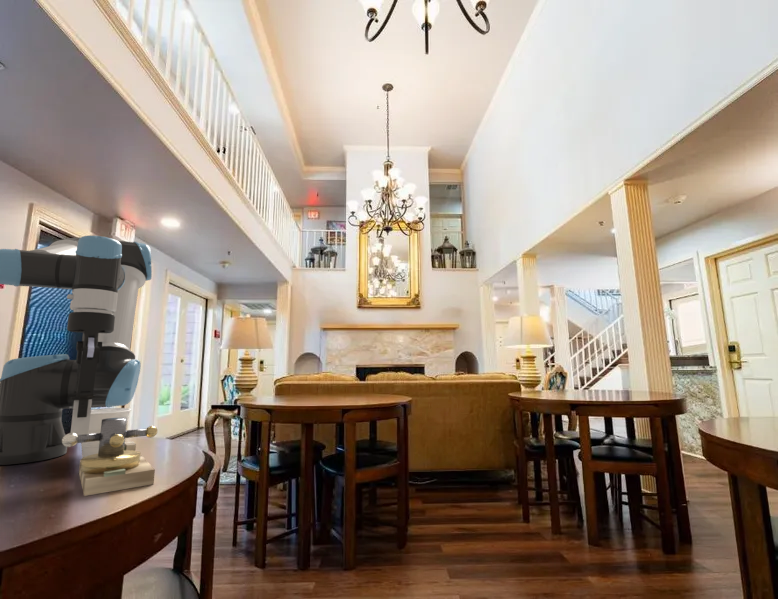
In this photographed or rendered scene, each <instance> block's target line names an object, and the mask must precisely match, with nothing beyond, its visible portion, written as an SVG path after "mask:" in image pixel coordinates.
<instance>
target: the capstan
mask: <svg viewBox="0 0 778 599" xmlns="http://www.w3.org/2000/svg"><path fill="white" fill-rule="evenodd" d="M127 423H128V420H127V418H108V419H103V420H102V422H101V431H100V433H94V434H83V435H77V434H76V433H71V432H69V433H67V434H66V433H65V436H64V437H63V438H62V444H63V445H64V446H66V447H67V448H71V447H74V446H75V445H76V446H77V444H81V443H83V442H93V441H99V451H98V454H93V455H89V456H86V457H84V458H82V457H81V458H80V460H81V468H80V471H81V472H85V473H102V472H105V471H112V470H119V469H128V468H131V467H134V466H137V465H138V464H140V454H141V451H138V450H135V451H130V450H126V451H124V446H125V442H126V439H130V438H138V437H147V438H154V437H156V436H157V434H158V428H157V427H156V426H154V425H149V426H147V427H146V428H140V429H138V428H137V429H127V426H128V425H127ZM141 455H142V454H141Z"/></svg>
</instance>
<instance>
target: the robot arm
mask: <svg viewBox="0 0 778 599" xmlns="http://www.w3.org/2000/svg"><path fill="white" fill-rule="evenodd" d="M152 267H153V266H152V251H151V247H150V245H148V244H146V243H144V242H143V243H142V242H138V241H125V240H117V239H114V238H111V237H107V236H101V235H84V236H81V237H80V236H79V237H70V238H64V239H59V240H56V241H54V242H52V243H51V244H50V245H49V246H45V247H41V248H35V249H32V250H31V249H30V250H22V249H18V248H14V249H11V248H0V285H4V286H5V285H7V286H14V287H31V288H32V287H34V288H50V289H62V290H71V293H70V294H67V296H66V299H67V300H71V301H70V306H69V309H70V310H71V311H73V312H70V313H68V319H67V325H66V329H67V331H68V332H70V333H81V334H82V337H81V341H80V340H78V341H76V346H75V348H76V349H75V350H76V358H75V359H70V356H69V354H65V353H63V354H62V353H61V354H49V355H35V356H28V357H27V356H26V357H19V358H13V359H10V360H8V361H6V362H5V363H4V365H3V368H2V372H1V376H0V377H1V378H0V466H5V465H17V464H18V465H19V464H26V463H27V464H28V463H33V462H34V463H35V462H41V461H45V460H50V459H54V458H58V457H60V456H61V457H62V456H63V455H66V454H67V451H68V447H66V446H64V445H63V444H62V438H63V437H64V436H65V435H66V433H65V430H64V426H63V422H62V415H63V410H64V409H72V415H71V416H72V417H71V427H70V433H76V434H77V435H83V434H88V433H89V423H90V414H91V410H92V408H113V407H120V406H122V407H123V406H126V405H128V404H130V403H131V401H132V400H133V398H134V395H135V394H136V390H137V386H138V383H139V377H140V372H141V361H140V360H139V359H136V355H135V353H134V352H133V351H132V350H131V345H132V336H133V330H134V322H135V316H136V308H137V301H138V294H139V289H141V288H142V287H144V285H145V283H146V282H147V281H151V280H152V275H153V274H152V272H153V270H152Z"/></svg>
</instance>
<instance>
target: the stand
mask: <svg viewBox="0 0 778 599" xmlns="http://www.w3.org/2000/svg"><path fill="white" fill-rule="evenodd" d="M136 448H137V444H136V442H135V441H127V442H126V441H125V446H124V451H126V450H130V451H137V450H136ZM80 468H81V459H79V468H78V475H79V480H80V485H81V488H82V494H83V496H84V497H87V496H93V495H97V494H103V493H104V494H105V493H108V492H109V493H110V492H115V491H121V490H127V489H133V488H139V487H143V486H150V485H154V484H155V471H156V470H155V469H156V468H154V467H153V466H152V464H151V463H149V462H148V460H147V459H146V458H145V457H144V456H143V455H142V454H140V464H138V465H137V466H134V467H131V468H128V469H119V470H112V471H105V472H102V473H85V472H81V471H80Z"/></svg>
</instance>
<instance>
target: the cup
mask: <svg viewBox="0 0 778 599" xmlns="http://www.w3.org/2000/svg"><path fill="white" fill-rule="evenodd" d="M131 411H132V408H128V407H127V408H126V407H103V408H95V409H92V408H91V414H90V423H89V433H88V434H94V433H100V431H101V422H102V420H103V419H108V418H127V421H129V417H130V413H131ZM80 446H81V459H82V458H84V457H86V456H89V455H93V454H98V451H99V441H93V442H83V443H80Z"/></svg>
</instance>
